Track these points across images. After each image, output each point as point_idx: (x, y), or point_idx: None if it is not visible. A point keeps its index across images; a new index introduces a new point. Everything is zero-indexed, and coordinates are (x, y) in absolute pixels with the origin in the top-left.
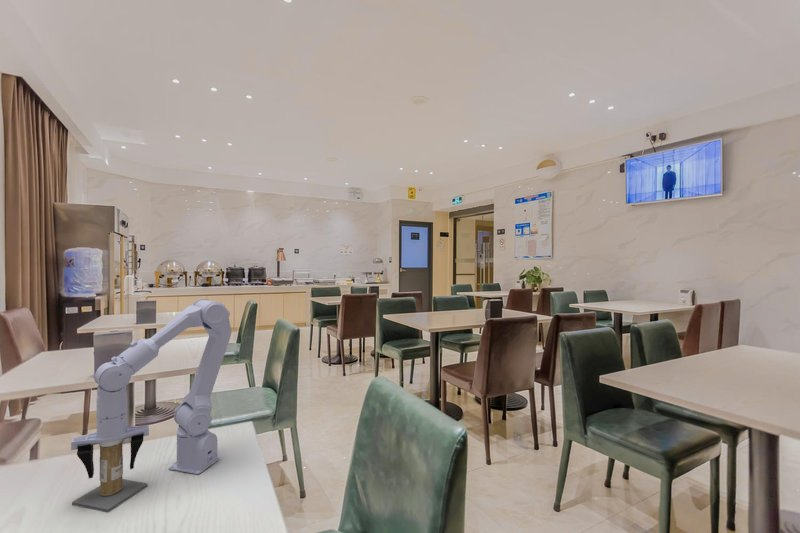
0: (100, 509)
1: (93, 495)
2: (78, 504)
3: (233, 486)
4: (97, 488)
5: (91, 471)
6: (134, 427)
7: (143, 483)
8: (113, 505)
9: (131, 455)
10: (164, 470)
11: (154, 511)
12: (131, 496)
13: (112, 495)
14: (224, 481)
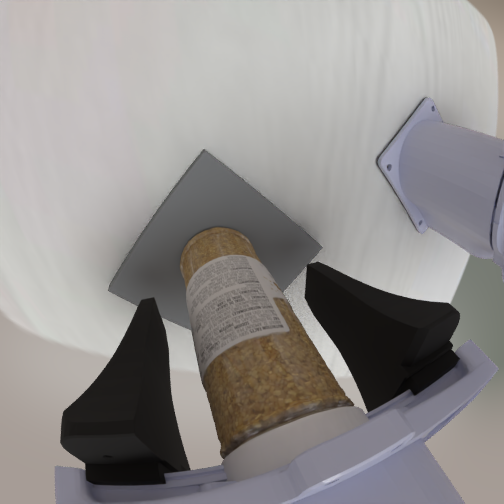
0: None
1: (162, 271)
2: (133, 301)
3: (432, 293)
4: (159, 226)
5: (168, 364)
6: (459, 399)
7: (312, 243)
8: None
9: (343, 352)
10: (366, 158)
11: (320, 347)
12: None
13: None
14: (432, 274)
